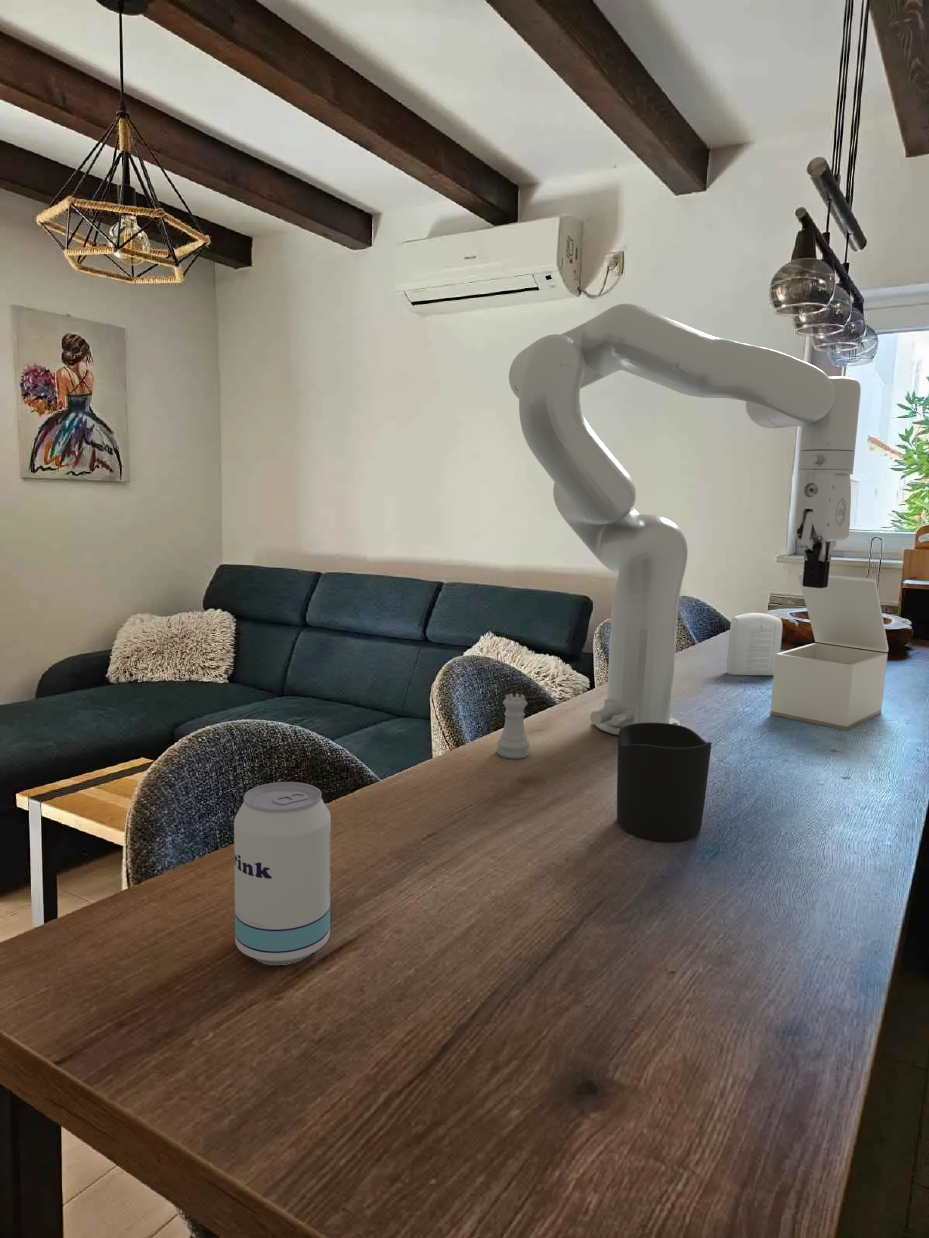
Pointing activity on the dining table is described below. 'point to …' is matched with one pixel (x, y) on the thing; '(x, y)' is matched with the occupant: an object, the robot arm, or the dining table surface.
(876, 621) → the carton lid
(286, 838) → the beverage can
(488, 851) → the dining table surface
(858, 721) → the carton
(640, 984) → the dining table surface
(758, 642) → the photo printer
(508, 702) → the rook chess piece
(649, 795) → the pen holder
